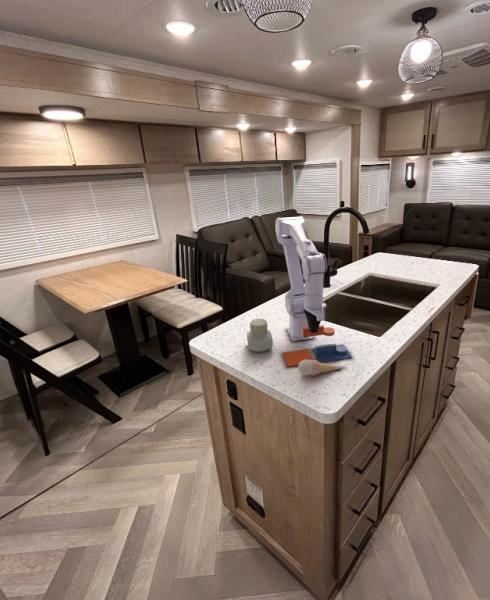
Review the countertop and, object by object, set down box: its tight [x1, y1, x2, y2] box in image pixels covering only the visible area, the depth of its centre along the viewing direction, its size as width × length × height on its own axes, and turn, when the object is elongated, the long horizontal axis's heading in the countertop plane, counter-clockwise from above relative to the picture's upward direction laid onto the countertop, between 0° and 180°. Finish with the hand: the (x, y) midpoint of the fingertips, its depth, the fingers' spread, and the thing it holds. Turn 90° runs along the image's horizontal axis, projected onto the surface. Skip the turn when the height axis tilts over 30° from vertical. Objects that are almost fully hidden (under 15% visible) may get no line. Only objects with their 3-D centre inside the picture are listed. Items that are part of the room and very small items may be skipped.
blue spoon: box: [314, 343, 348, 356], centre depth 107 cm, size 11×4×3 cm, turn 101°
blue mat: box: [312, 344, 352, 363], centre depth 108 cm, size 8×11×1 cm
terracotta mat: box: [282, 348, 315, 368], centre depth 106 cm, size 8×9×1 cm
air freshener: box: [246, 318, 274, 353], centre depth 111 cm, size 11×8×10 cm
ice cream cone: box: [297, 359, 343, 376], centre depth 98 cm, size 5×5×15 cm
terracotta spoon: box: [303, 324, 335, 337], centre depth 106 cm, size 11×4×3 cm, turn 103°
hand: (313, 331), depth 105 cm, fingers closed on terracotta spoon
